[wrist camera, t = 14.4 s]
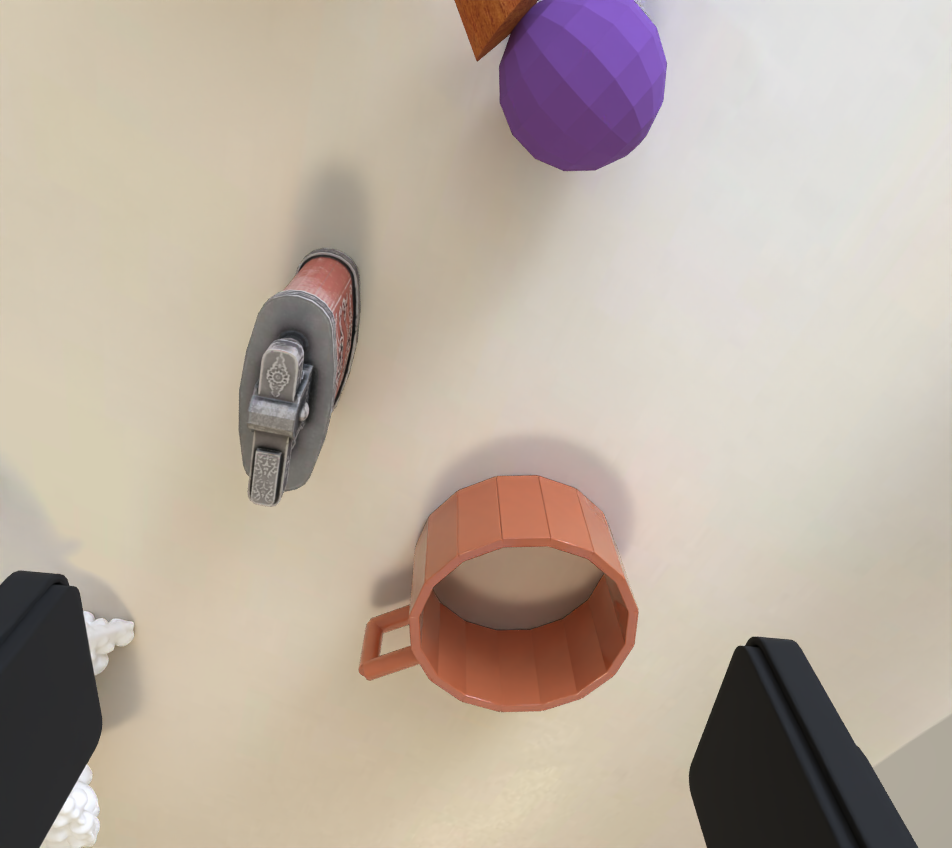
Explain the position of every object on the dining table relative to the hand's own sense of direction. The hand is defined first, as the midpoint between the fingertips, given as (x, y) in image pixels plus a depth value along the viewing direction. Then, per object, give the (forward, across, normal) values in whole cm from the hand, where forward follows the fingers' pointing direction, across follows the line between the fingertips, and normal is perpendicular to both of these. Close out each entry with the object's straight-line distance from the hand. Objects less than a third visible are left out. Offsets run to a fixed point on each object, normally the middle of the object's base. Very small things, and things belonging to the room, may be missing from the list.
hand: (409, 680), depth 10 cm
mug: (+24, -4, +17) cm, 29 cm away
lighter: (+24, +6, +4) cm, 25 cm away
